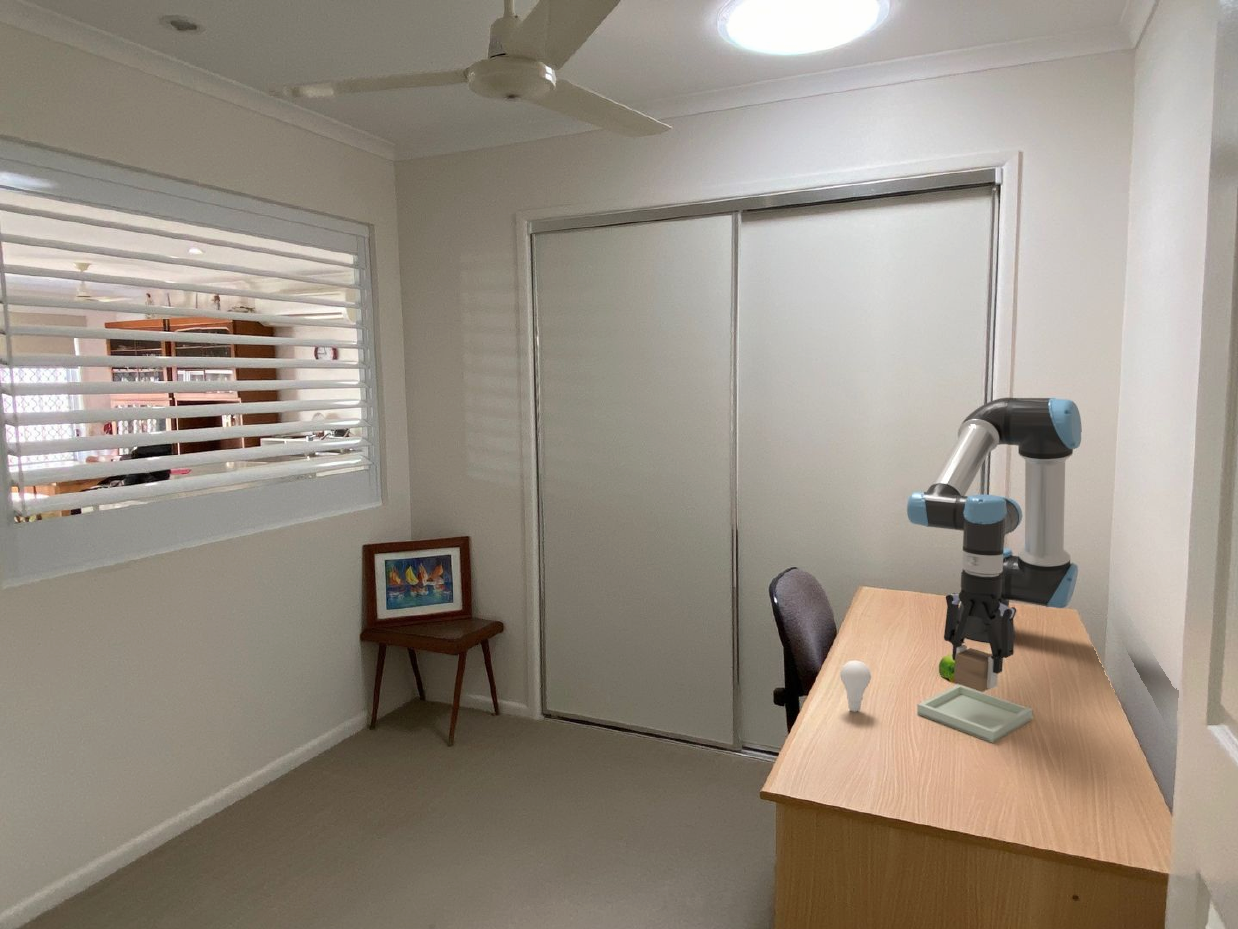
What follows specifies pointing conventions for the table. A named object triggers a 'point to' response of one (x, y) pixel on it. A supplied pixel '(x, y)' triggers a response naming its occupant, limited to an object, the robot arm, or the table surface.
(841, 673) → the lightbulb
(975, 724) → the tray
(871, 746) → the table surface
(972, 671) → the cube
